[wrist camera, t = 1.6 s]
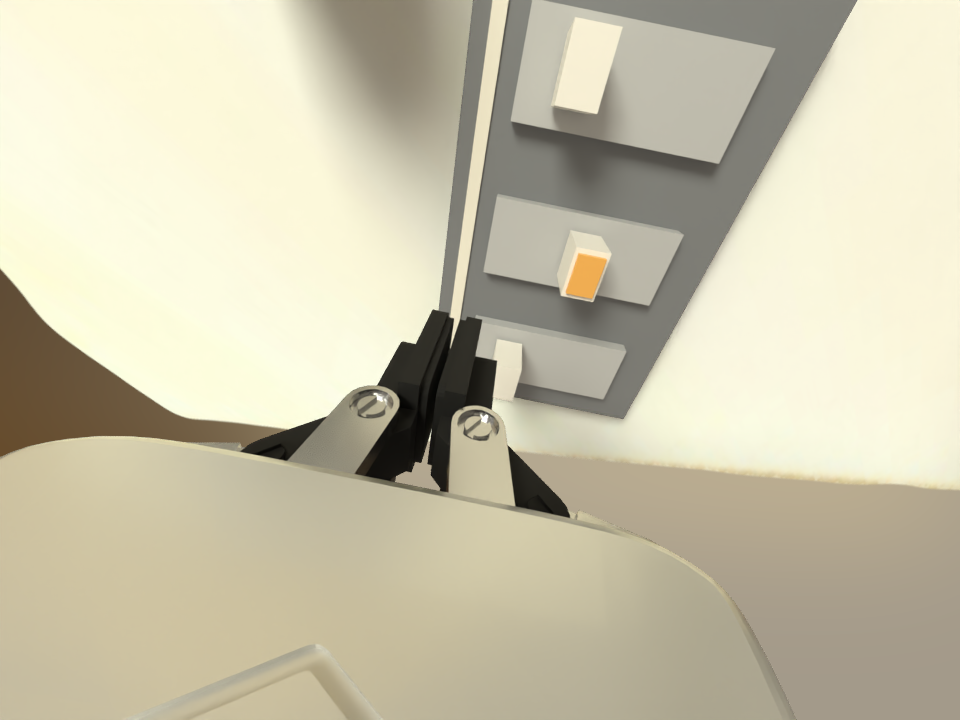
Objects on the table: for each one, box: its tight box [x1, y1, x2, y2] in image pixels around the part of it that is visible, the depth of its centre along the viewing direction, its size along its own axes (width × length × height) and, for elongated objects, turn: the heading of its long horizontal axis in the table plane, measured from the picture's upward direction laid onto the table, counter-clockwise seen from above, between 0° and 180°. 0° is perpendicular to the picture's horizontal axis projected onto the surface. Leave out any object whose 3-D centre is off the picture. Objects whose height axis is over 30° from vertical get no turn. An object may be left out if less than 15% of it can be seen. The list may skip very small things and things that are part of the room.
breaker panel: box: [439, 0, 857, 419], centre depth 25 cm, size 18×28×3 cm, turn 171°
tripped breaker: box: [557, 230, 612, 302], centre depth 22 cm, size 2×3×4 cm, turn 171°
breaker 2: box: [551, 17, 623, 114], centre depth 17 cm, size 2×3×4 cm, turn 170°
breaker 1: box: [492, 339, 522, 402], centre depth 27 cm, size 2×3×4 cm, turn 171°
